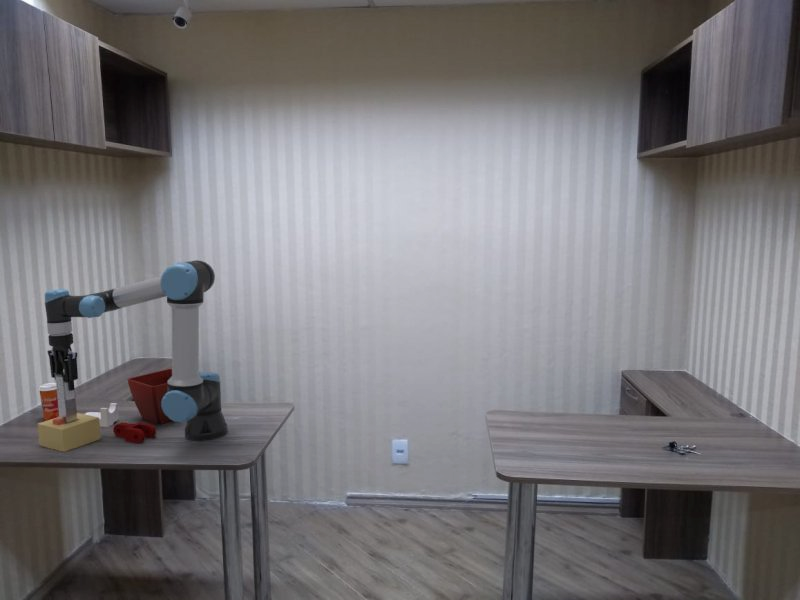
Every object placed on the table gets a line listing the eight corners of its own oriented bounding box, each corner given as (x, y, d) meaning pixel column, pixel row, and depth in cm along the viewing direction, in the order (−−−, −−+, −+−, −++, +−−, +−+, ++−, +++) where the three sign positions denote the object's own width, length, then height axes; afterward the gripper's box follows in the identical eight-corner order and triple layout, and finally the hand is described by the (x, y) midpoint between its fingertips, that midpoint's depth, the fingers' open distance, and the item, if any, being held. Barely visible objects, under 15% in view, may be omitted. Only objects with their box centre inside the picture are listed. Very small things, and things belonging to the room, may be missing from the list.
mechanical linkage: (156, 437, 220) (155, 424, 219) (141, 444, 214) (140, 431, 213) (124, 432, 226) (123, 419, 226) (108, 438, 220) (107, 425, 219)
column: (79, 428, 217) (74, 372, 214) (67, 432, 213) (62, 375, 210) (71, 426, 219) (66, 370, 216) (59, 430, 215) (53, 373, 212)
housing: (100, 438, 219) (98, 413, 218) (64, 452, 207) (61, 425, 206) (76, 432, 226) (74, 408, 224) (39, 445, 214) (36, 419, 212)
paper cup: (37, 422, 238) (33, 387, 236) (47, 415, 246) (44, 382, 244) (57, 421, 238) (54, 387, 237) (67, 415, 246) (64, 382, 244)
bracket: (119, 421, 238) (117, 403, 237) (107, 428, 231) (106, 409, 230) (89, 420, 240) (87, 402, 239) (77, 426, 233) (75, 407, 232)
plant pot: (155, 429, 229) (152, 386, 226) (129, 419, 240) (126, 378, 238) (199, 415, 244) (196, 375, 241) (172, 407, 255) (169, 368, 253)
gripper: (86, 333, 210) (91, 398, 213) (55, 330, 218) (61, 392, 221) (65, 337, 204) (71, 404, 207) (35, 333, 212) (41, 398, 215)
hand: (66, 398), depth 214 cm, fingers closed on column, 4 cm apart
